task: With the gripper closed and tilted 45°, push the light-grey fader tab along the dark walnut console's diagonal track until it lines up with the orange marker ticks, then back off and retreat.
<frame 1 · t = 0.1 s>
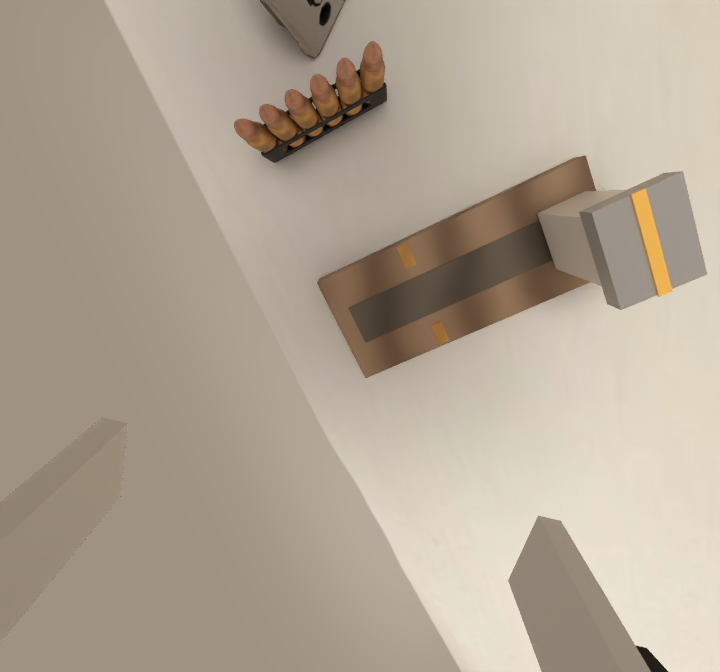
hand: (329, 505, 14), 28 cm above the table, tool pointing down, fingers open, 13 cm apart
ammunition clip: (324, 122, 36), on the table
fader console: (461, 272, 39), on the table
fader tab: (604, 236, 30), point 8 cm above the table, slide at 0.0 cm
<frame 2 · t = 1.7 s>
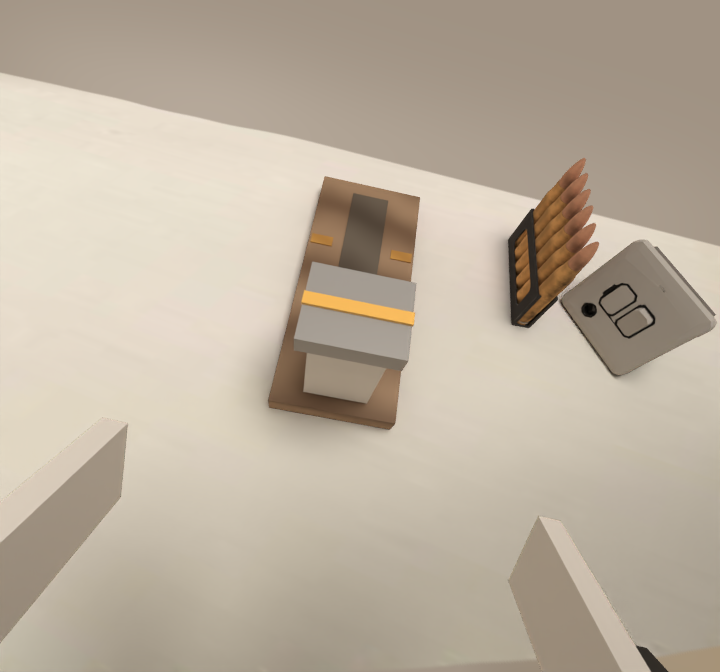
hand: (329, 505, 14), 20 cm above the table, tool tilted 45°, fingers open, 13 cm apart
ammunition clip: (517, 282, 44), on the table
electrical switch: (601, 328, 43), on the table
fader console: (352, 295, 40), on the table
fader tab: (347, 346, 29), point 8 cm above the table, slide at 0.0 cm
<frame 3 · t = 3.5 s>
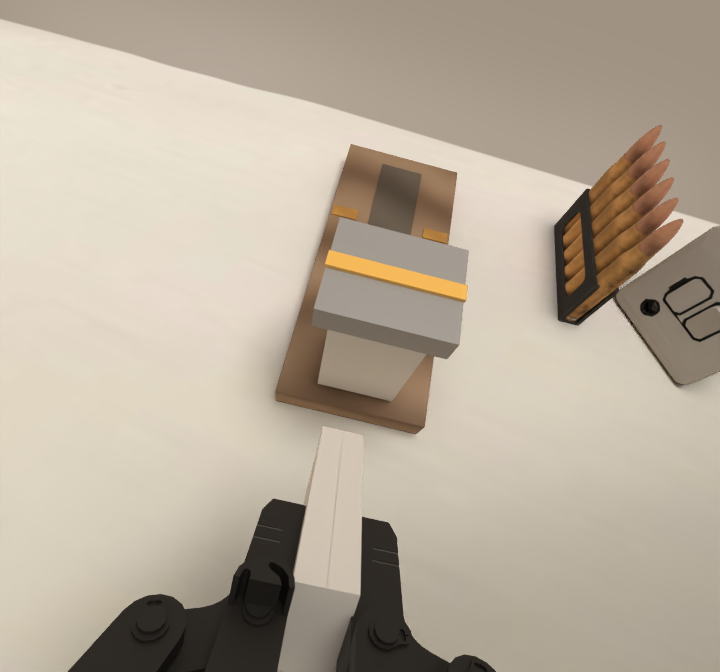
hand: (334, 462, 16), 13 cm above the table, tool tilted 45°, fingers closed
ammunition clip: (563, 274, 39), on the table
electrical switch: (660, 330, 38), on the table
fader console: (377, 277, 35), on the table
fader tab: (375, 328, 24), point 8 cm above the table, slide at 0.0 cm
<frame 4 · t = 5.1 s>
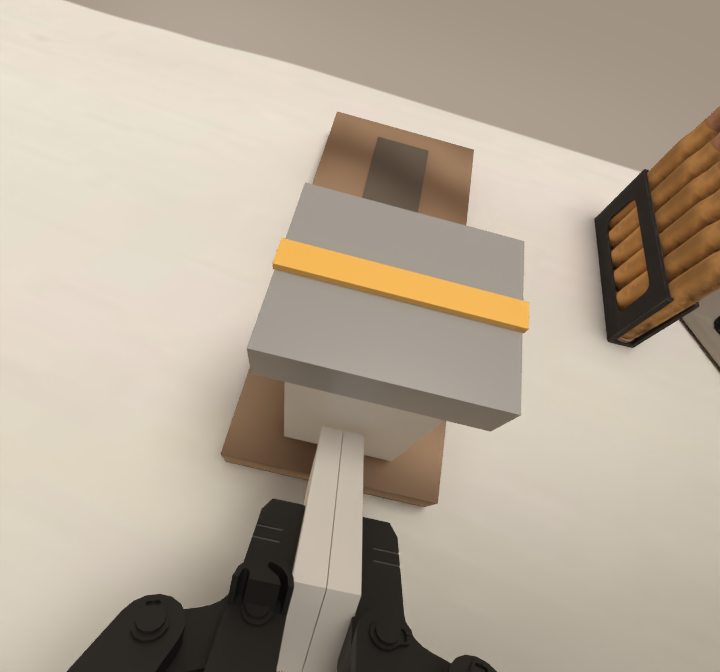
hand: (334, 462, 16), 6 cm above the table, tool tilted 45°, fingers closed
ammunition clip: (609, 280, 30), on the table
fader console: (370, 284, 26), on the table
fader tab: (367, 364, 15), point 8 cm above the table, slide at 0.3 cm, touching gripper
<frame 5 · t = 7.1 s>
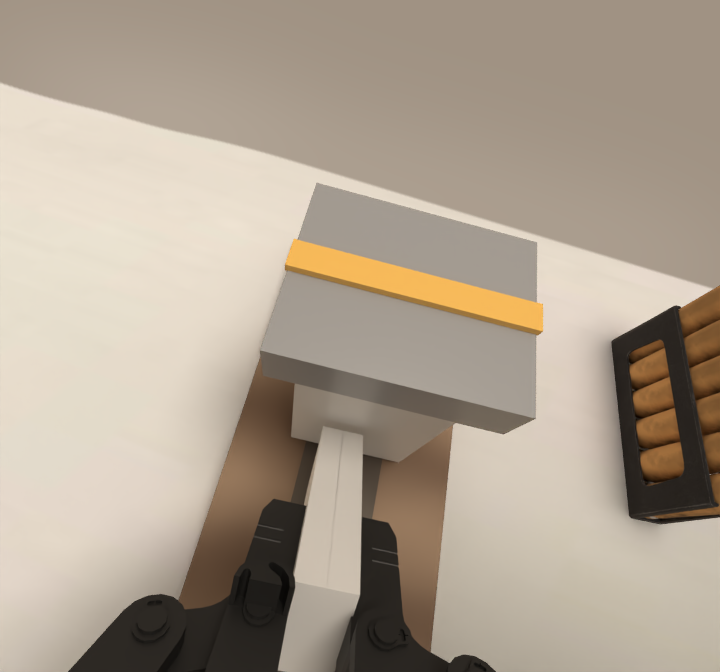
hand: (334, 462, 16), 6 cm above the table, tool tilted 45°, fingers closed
ammunition clip: (630, 424, 25), on the table
fader console: (339, 455, 22), on the table
fader tab: (376, 365, 15), point 8 cm above the table, slide at 10.8 cm, touching gripper
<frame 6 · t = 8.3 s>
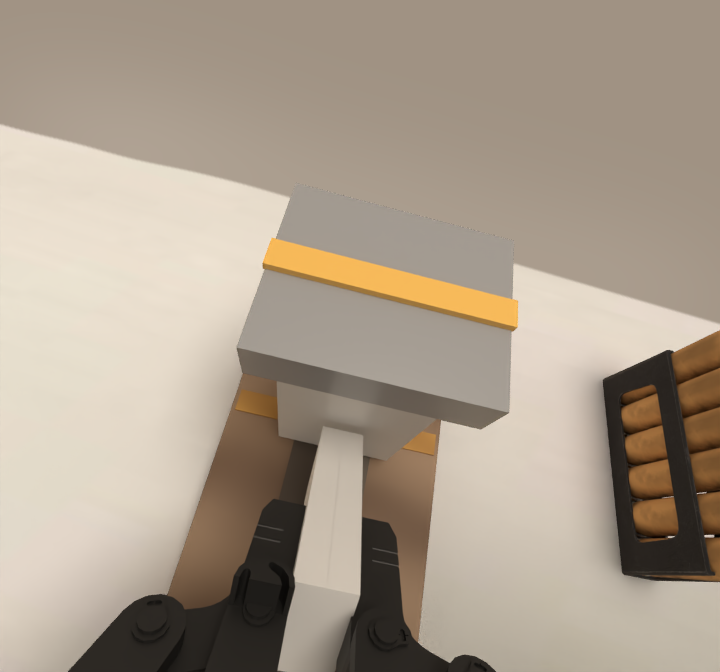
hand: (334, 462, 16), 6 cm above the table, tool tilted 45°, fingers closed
ammunition clip: (623, 470, 24), on the table
fader console: (315, 514, 20), on the table
fader tab: (360, 363, 16), point 8 cm above the table, slide at 13.7 cm, touching gripper
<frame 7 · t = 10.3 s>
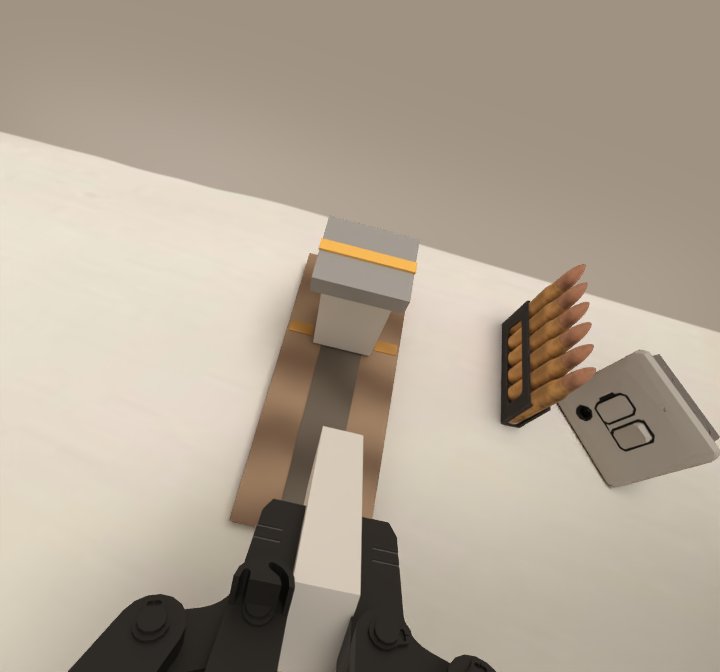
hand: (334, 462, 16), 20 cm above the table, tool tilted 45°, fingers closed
ammunition clip: (509, 373, 42), on the table
electrical switch: (596, 428, 41), on the table
fader console: (331, 387, 38), on the table
fader tab: (355, 297, 33), point 8 cm above the table, slide at 13.7 cm
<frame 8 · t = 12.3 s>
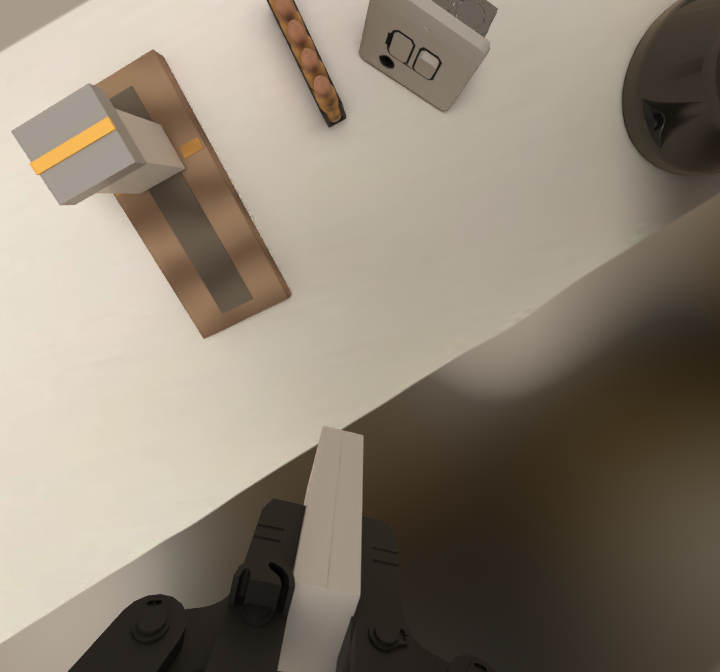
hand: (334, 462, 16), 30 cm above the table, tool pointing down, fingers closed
ammunition clip: (310, 65, 39), on the table
electrical switch: (415, 55, 38), on the table
fader console: (189, 207, 42), on the table
fader tab: (116, 154, 34), point 8 cm above the table, slide at 13.7 cm
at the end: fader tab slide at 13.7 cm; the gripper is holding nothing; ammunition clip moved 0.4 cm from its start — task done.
